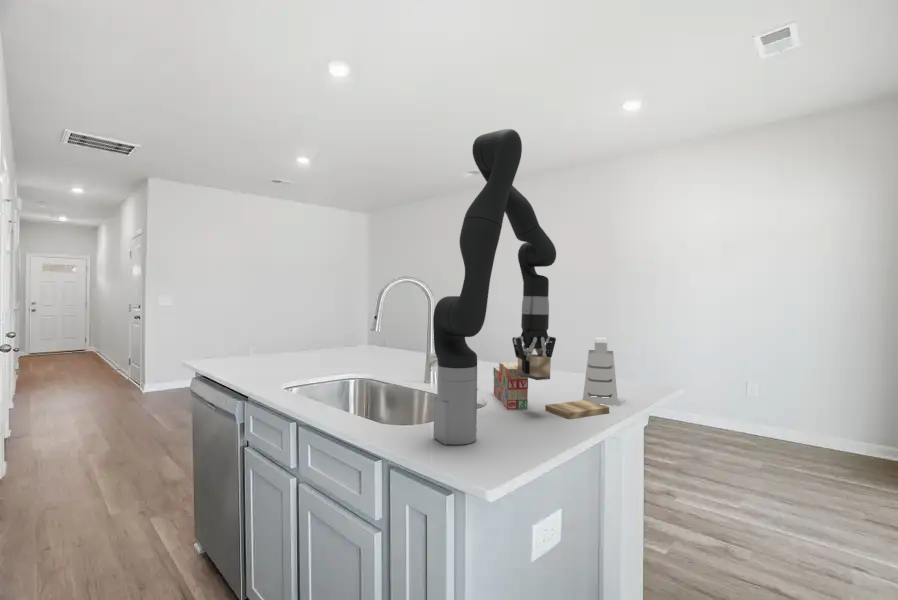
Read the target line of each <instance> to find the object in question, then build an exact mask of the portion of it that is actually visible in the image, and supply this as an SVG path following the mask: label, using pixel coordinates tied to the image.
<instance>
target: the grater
mask: <svg viewBox="0 0 898 600" xmlns="http://www.w3.org/2000/svg"><path fill="white" fill-rule="evenodd" d="M587 352H588V354H587V362H586V370H585V379H584V387H583V388H584V389H583V394H582V400H586V401H590V402H593V403H596V404H604V405H603V406H607V405H616V406H615V407H619V401H618V400H619V399H618V389H617V378H616V368H615V359H614V358H615V357H614V351H613V350H608V337H600V336H599V337H596V336H595V337H594V349H589V350H588V351H587ZM591 396H597V397H591ZM602 397H609V398H602Z"/></svg>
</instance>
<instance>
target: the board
mask: <svg viewBox="0 0 898 600" xmlns="http://www.w3.org/2000/svg"><path fill="white" fill-rule="evenodd" d="M544 407H545V408H544V411H545V412H549V413H551V414H553V415H555V416H556V415H557V416H559V417H563V418H565V419H568V420H570V419H571V420H573V419H578V418H585V417H590V416H591V415H592V416H598V414H599V415H605V414H609V413H610V406H607V405H600V404H596V403H593V402H590V401H586V400H583V399H581V400H574V401H573V400H571V401H567V402H566V401H564V402H558V403H551V404H545V405H544ZM592 416H591V417H592Z"/></svg>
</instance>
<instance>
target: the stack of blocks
mask: <svg viewBox="0 0 898 600" xmlns="http://www.w3.org/2000/svg"><path fill="white" fill-rule="evenodd" d="M498 365H499V366H493V394H494V395H495V397H496V398H497V399H498V400H499V401H500V403H501V404H502V405H503V407H504V408H505V409H506V410H507V411H508V410H528V405H529V404H528V403H529V400H528V393H529V392H528V391H529V390H528V389H529V378H527V377H523V376H520V375H517V370H518V361H500V362H499V363H498Z"/></svg>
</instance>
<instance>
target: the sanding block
mask: <svg viewBox="0 0 898 600" xmlns="http://www.w3.org/2000/svg"><path fill="white" fill-rule="evenodd" d="M551 358H552V357H546V356H541V355H537V354H534V353H531V356H530V360H529V361H530V370H529V374H524V373H523V372H522V360H521V359H520V358H517V362H518V370H517V375H520V376H523V377H527V378H528V379H531V380H535V381H543V380H544V381H546V380H551V362H552V361H551Z"/></svg>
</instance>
